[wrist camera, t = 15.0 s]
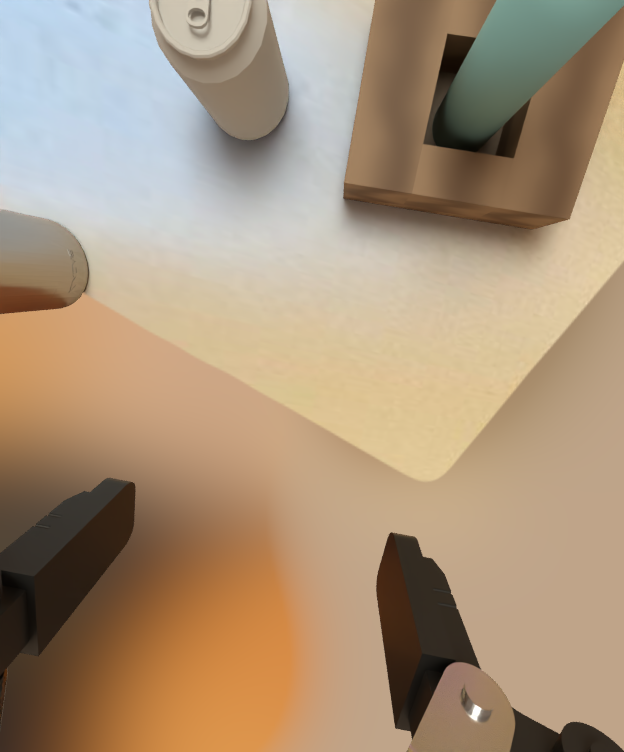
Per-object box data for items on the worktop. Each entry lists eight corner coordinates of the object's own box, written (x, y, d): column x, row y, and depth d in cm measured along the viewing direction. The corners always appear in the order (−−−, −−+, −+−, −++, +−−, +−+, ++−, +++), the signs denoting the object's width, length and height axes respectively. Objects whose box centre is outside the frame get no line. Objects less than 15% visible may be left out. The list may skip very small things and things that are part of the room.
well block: (343, 198, 33) (344, 182, 28) (374, 18, 29) (382, -40, 24) (531, 229, 32) (569, 219, 27) (588, 50, 29) (645, -3, 23)
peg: (425, 152, 31) (509, 18, 15) (441, 86, 29) (550, -135, 14) (481, 162, 30) (625, 36, 15) (500, 96, 29) (678, -118, 14)
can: (296, 55, 30) (270, -85, 19) (283, 150, 32) (252, 78, 21) (214, 40, 31) (137, -107, 19) (205, 136, 33) (132, 56, 21)
